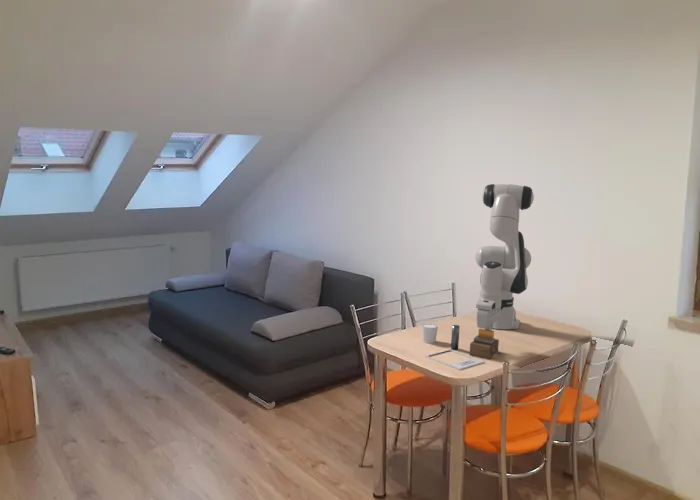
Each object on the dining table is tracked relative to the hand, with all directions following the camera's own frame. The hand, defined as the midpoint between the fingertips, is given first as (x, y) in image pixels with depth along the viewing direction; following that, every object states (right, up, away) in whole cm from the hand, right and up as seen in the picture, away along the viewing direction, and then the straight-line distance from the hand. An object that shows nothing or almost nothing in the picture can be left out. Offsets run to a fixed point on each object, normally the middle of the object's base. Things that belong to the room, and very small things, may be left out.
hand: (488, 334), depth 229 cm
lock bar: (-2, -3, -3) cm, 5 cm away
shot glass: (-23, -5, +12) cm, 26 cm away
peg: (-13, -7, +3) cm, 15 cm away
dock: (-2, -8, -2) cm, 8 cm away
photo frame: (-16, -9, -11) cm, 21 cm away
